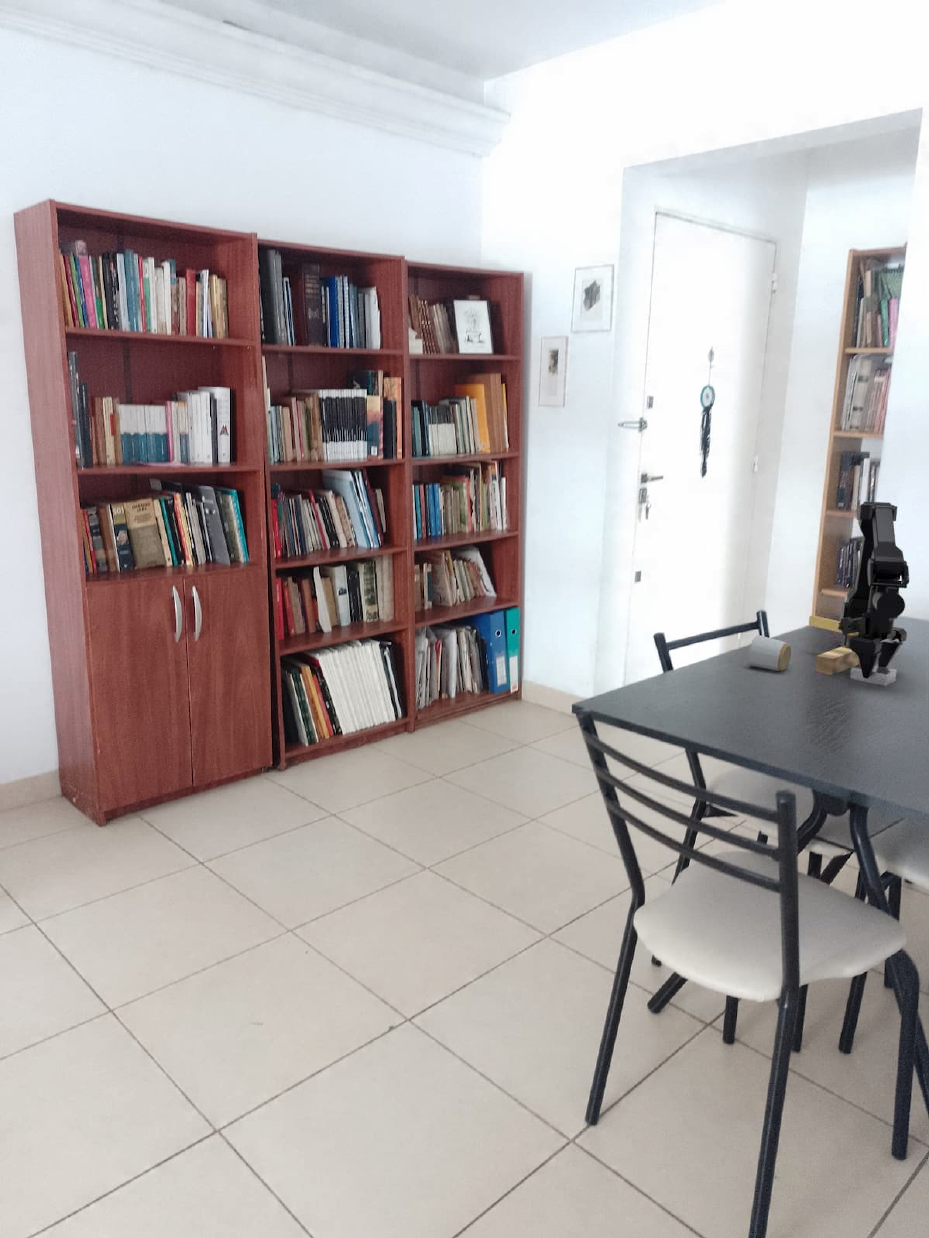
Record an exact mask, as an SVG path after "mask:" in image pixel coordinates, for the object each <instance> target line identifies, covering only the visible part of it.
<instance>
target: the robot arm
mask: <svg viewBox="0 0 929 1238" xmlns="http://www.w3.org/2000/svg"><path fill="white" fill-rule="evenodd" d="M897 515H898V505H897V506H896V505H893V504H891V502H884V501H863V503H861V504H860V505H858V506H857V509H856V520H857V521H858V522H857V524H858V526H859V529H860V532H861V534H862V539H861V544H860V546H861V547H860V552H859V557H858V564H857V565H858V566H857V573H856V576H855V583H854V584H855V585H854V586H853V587H852V589H851V590H849V592H848V593H847V594H846V598H845V601H843V602H842V603H843V604H842V606H841V610H840V612H839V613H840V614H839V621H840V623H839V627H838V629H839V630H841V631H842V633H841V634H842V636H843V642H842V643H841V642H840V643H839V644H837V646H838V648H839V647H842V646H844V645H846V641H847V635H848V634H850V633H856V632H858V635H856V636H854V637H852V638H850V639H849V640H848V648H849V649H851V650H852V651H853V652H855V653H856V654H857V655H858V657H859V664H860V665H861V670H862V675H863V678H866V679H868V678H869V676H870V674H871V673H872V670H873V668H874V666H875V665H876V664H877V666H880V667H885V668H888V666H889V665H890V663H891V662H892V660H893V658H895V655H896V653H897V652H898V651H899V649H900V648H901V646H903V645H904V644H903V643H904V642H905V641H907V635H908V633H907V631H906V630H905V628H904V627H903V628H902V627H897V626H895V625H894V624H895V620H897V619H898V617H899V616H901V615H902V614H903V612H904V611H905V608H906V602H905V600H904V598H903V597H902V595H901V594H900V589H907V588H908V585H909V582H910V571H909V570H910V569H909V565H908V562H907V560H905V557H904V552H903V550H902V549H901V548H899V547H898V546H897V545H896V534H895V524H894V523H895V522H897Z"/></svg>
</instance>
